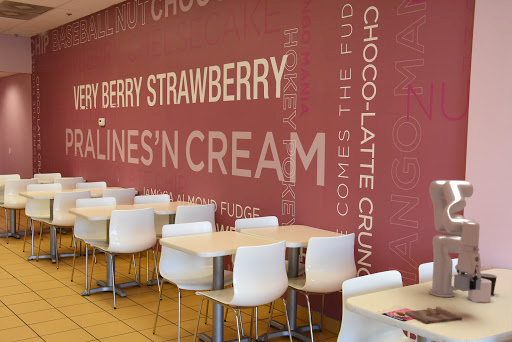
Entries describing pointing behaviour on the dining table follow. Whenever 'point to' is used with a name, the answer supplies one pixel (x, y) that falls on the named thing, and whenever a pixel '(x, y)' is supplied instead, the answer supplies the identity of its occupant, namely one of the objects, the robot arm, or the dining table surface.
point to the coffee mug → (491, 278)
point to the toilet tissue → (481, 292)
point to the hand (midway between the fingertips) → (467, 286)
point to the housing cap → (465, 282)
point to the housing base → (433, 315)
